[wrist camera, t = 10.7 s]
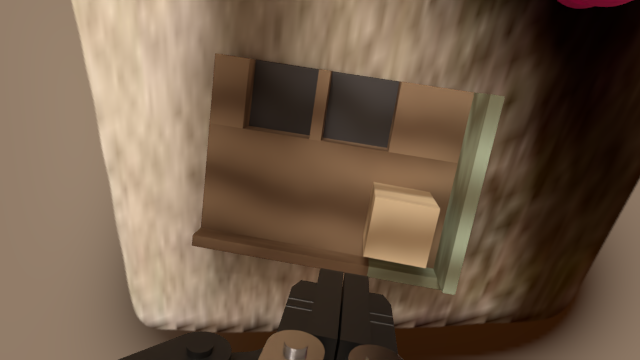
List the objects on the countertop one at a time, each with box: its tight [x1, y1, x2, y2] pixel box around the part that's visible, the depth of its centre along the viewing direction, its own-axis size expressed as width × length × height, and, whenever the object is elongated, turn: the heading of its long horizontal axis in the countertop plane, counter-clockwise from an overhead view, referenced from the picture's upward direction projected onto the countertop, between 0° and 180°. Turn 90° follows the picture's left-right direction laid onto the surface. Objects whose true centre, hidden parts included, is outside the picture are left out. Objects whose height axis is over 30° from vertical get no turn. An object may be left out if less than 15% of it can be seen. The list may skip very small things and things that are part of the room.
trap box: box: [192, 53, 505, 295], centre depth 36 cm, size 17×23×7 cm
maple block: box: [363, 182, 440, 268], centre depth 35 cm, size 5×5×5 cm
